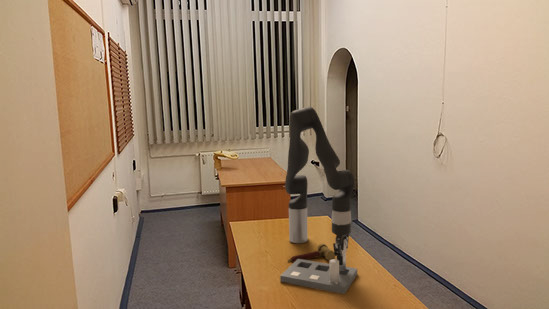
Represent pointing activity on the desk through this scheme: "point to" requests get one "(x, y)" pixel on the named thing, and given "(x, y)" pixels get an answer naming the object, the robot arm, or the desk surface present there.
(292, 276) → the pin board
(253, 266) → the desk surface
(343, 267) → the steel pin
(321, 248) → the gavel
